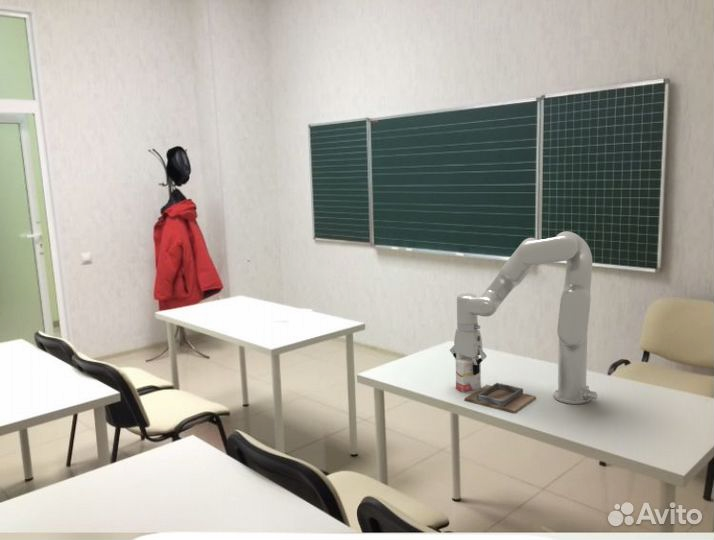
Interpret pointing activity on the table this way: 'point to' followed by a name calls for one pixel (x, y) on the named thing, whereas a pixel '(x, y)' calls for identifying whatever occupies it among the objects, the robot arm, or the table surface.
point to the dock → (501, 397)
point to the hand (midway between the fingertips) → (468, 371)
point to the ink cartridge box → (466, 374)
